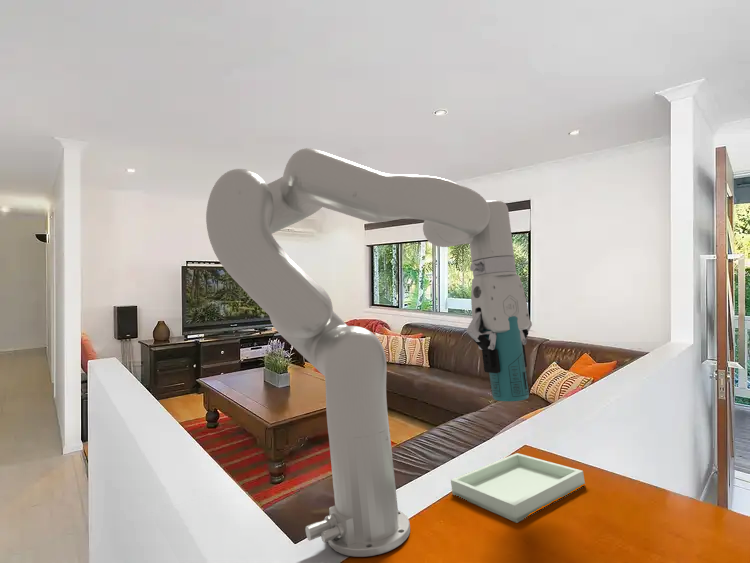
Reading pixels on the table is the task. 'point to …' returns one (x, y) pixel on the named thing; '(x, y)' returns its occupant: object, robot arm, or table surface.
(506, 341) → the beverage bottle
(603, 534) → the table surface
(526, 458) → the tray
